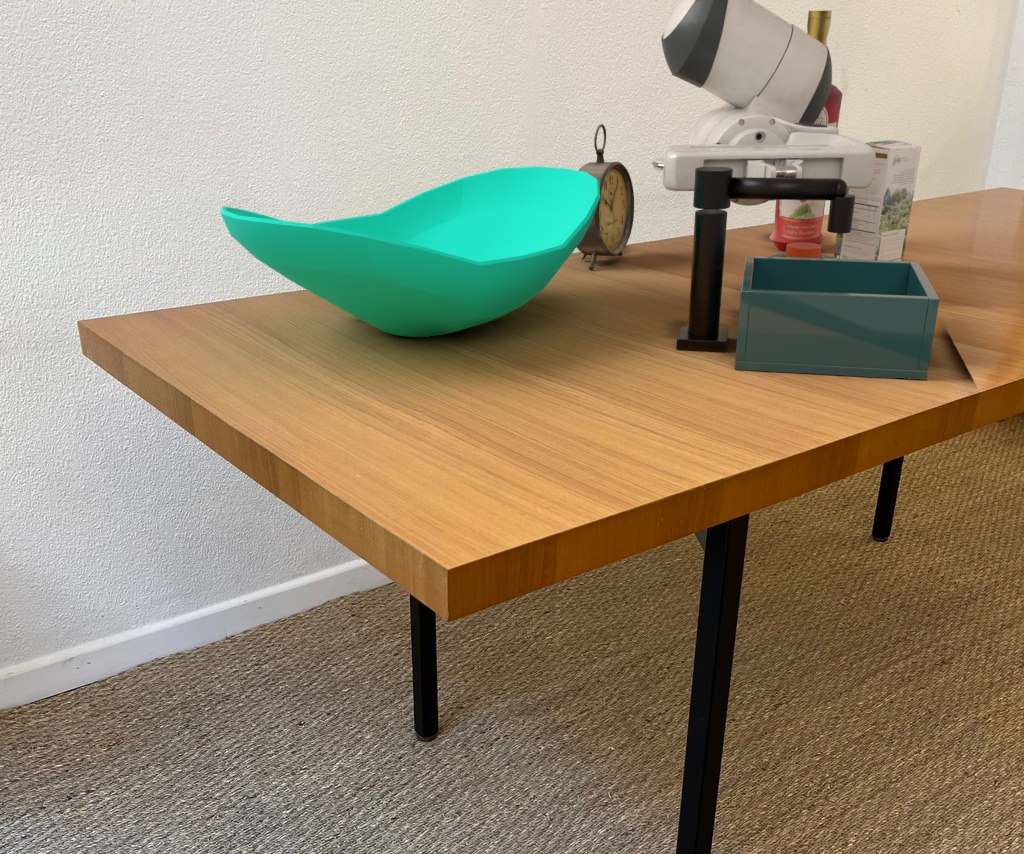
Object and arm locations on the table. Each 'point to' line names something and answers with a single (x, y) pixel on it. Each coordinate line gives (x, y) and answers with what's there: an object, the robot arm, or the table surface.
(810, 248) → the button
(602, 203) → the alarm clock
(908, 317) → the sink
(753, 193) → the spout
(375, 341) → the table surface
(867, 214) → the syrup box
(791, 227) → the liquor
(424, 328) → the table top decor
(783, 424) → the table surface
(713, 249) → the dark post on base
